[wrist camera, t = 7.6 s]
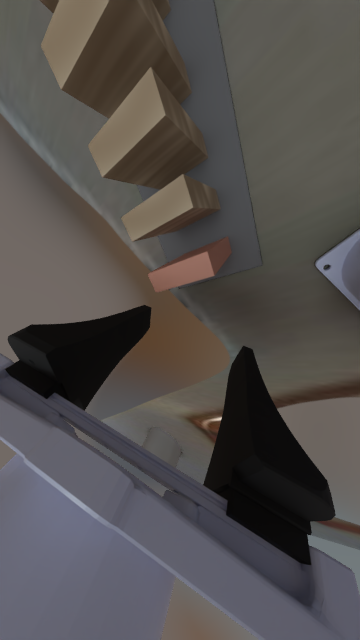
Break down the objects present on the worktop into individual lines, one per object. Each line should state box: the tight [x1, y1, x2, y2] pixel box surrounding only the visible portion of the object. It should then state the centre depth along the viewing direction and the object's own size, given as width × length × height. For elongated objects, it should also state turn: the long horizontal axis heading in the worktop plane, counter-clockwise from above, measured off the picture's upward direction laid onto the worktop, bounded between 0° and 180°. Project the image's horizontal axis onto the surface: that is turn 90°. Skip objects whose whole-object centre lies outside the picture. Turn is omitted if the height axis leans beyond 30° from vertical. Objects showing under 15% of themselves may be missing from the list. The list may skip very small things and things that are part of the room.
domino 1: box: [41, 0, 192, 118], centre depth 10 cm, size 2×5×8 cm, turn 114°
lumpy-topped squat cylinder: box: [142, 427, 181, 468], centre depth 50 cm, size 10×13×9 cm
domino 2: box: [88, 67, 208, 190], centre depth 12 cm, size 2×5×8 cm, turn 113°
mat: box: [137, 0, 262, 289], centre depth 15 cm, size 22×10×1 cm, turn 23°
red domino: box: [148, 236, 232, 292], centre depth 15 cm, size 2×5×8 cm, turn 113°
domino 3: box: [121, 174, 221, 242], centre depth 13 cm, size 2×5×8 cm, turn 113°
